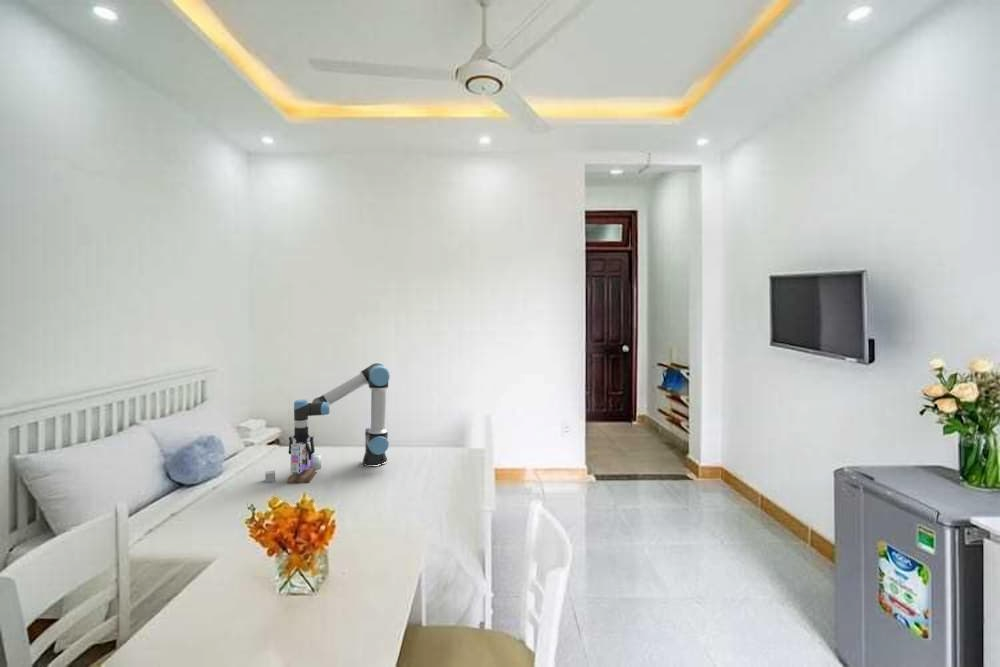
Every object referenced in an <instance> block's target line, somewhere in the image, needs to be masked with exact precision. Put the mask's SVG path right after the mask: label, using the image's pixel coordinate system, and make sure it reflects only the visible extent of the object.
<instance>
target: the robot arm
mask: <svg viewBox="0 0 1000 667" xmlns="http://www.w3.org/2000/svg"><path fill="white" fill-rule="evenodd" d="M390 376H391V375H390V371H389V369H388V368H387V367H386V366H384V364H382V363H376V362H375V363H372V364H371V365H369V366H367V367H366V368H364V369H363V370H361V371H360V372H359V374H357V375H356V376H354V377H352V378H350V379H349V380H346V381H345V382H344V383H341V384H340V385H338V386H336V387H335V388H333V389H331V390H329V391H328V392H326V393H324V394H322V395H320V396H319V397H315V398H314V399H313V400H312V401H311V402H309V401H308V400H307V399H297V400H295V401H294V403H293V406H294V407H293V416H294V417H293V421H294V422H293V426H294V429H293V430H294V435H291V436H289V437H288V440H289V442H288V443H289V445H288V455H291V445H292V444H294V440H295V443H298V442H303V443H305V444H306V449H307V452H308V455H307V466H309V465H310V460H311V458H312V456H311V454H315V443H314V438H315V436H314V435H309V417H313V416H315V417H316V416H326V415H330V412H331V411H330V406H331V405H333V404H335V403H336V402H338V401H340V400H341V399H343V398H344V397H346V396H348V395H349V394H351V393H353V392H355V391H357V390H358V389H361V388H363V387H364V386H365V385H368V388H369V389H370V390H371V391H370V396H371V397H370V401H371V402H370V426H369V427H366V428H365V431H364V434H365V439H364V440H365V441H364V442H365V452H364V455H363V458H362V464H366V465H378V464H382V463H384V462H386V461H387V462H388V457H387V454H386V451H388V449H389V444H390V442H389V438H388V436H389V435H388V434H389V433H388V429H386V406H387V405H386V404H387V402H386V401H387V400H386V397H387V396H386V395H387V394H386V393H387V392H386V390H387V389H388V388H389V381H390V379H391V378H390ZM307 439H309V440H310V445H311V449H310V447H309V444H308V443H307Z"/></svg>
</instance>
